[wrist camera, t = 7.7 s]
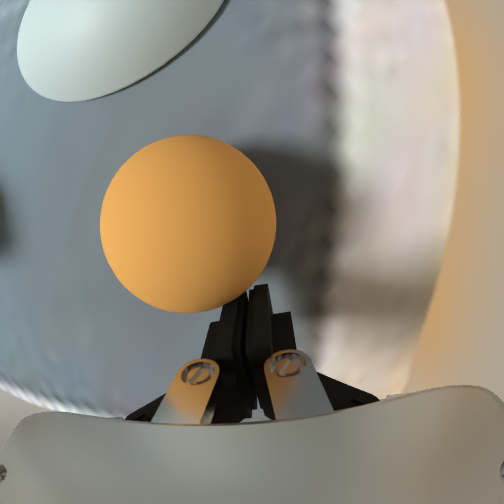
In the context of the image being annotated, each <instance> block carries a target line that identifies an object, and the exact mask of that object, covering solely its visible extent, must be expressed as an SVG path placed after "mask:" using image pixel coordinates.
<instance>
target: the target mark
mask: <svg viewBox="0 0 504 504" xmlns="http://www.w3.org/2000/svg"><path fill="white" fill-rule="evenodd" d="M223 2H224V0H31V1H30V3H29V5H28V7H27V9H26V11H25V14H24V16H23V19H22V22H21V26H20V30H19V34H18V42H17V57H18V64H19V67H20V70H21V73H22V75H23V77H24V79H25V81H26V82H27V84H28V85H29V86H30V87H31V88H32V89H33V90H34V91H36V92H37V93H38V94H40V95H42V96H44V97H46V98H48V99H53V100H57V101H67V102H76V101H86V100H91V99H95V98H99V97H103V96H105V95H108V94H111V93H114V92H117V91H119V90H121V89H123V88H125V87H128V86H130V85H132V84H134V83H135V82H137V81H139V80H141V79H142V78H144V77H146V76H148V75H149V74H151V73H152V72H154V71H155V70H157V69H158V68H160V67H161V66H163V65H164V64H166V63H167V62H168V61H169V60H171V59H172V58H173V57H175V56H176V55H177V54H178V53H180V52H181V51H182V50H183V49H184V48H185V47H186V46H187V45H188V44H190V43H191V42H192V41H193V40H194V39H195V38H196V37H197V36H198V35H199V34H200V32H201V31H202V30H203V29H204V28H205V27H206V26H207V25H208V23H209V22H210V21H211V19H212V18H213V17H214V16H215V14H216V13H217V11H218V10H219V8H220V6H221V5H222V3H223Z"/></svg>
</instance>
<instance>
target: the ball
mask: <svg viewBox="0 0 504 504" xmlns="http://www.w3.org/2000/svg"><path fill="white" fill-rule="evenodd" d="M100 233H101V241H102V245H103V249H104V253H105V255H106V258H107V260H108V263H109V265H110V267H111V268H112V270H113V272H114V273H115V275H116V277H117V278H118V279H119V280H120V282H121V283H122V284H123V285H124V286H125V287H126V288H127V289H128V290H129V291H130V292H131V293H132V294H134V295H135V296H137V297H138V298H139V299H141V300H142V301H144V302H146V303H148V304H150V305H152V306H154V307H157V308H160V309H163V310H166V311H171V312H178V313H196V312H203V311H208V310H212V309H215V308H218V307H220V306H223V305H225V304H227V303H229V302H231V301H232V300H234V299H236V298H237V297H239V296H240V295H241V294H242V293H244V292H245V291H246V290H247V289H248V288H249V287H250V286H251V285H252V284H253V283H254V282H255V281H256V279H257V278H258V277H259V276H260V274H261V273H262V271H263V269H264V268H265V266H266V264H267V262H268V259H269V257H270V255H271V252H272V249H273V245H274V241H275V235H276V212H275V206H274V201H273V198H272V194H271V191H270V189H269V187H268V184H267V182H266V180H265V179H264V177H263V175H262V174H261V172H260V171H259V170H258V168H257V167H256V166H255V165H254V164H253V162H252V161H251V160H250V159H248V158H247V157H246V156H245V155H244V154H243V153H241V152H240V151H239V150H237V149H236V148H234V147H232V146H231V145H228V144H226V143H224V142H222V141H220V140H217V139H214V138H211V137H205V136H199V135H179V136H173V137H168V138H165V139H162V140H159V141H156V142H153V143H151V144H149V145H147V146H146V147H144V148H142V149H141V150H139V151H138V152H136V153H135V154H134V155H133V156H132V157H130V158H129V159H128V160H127V161H126V162H125V163H124V164H123V165H122V167H121V168H120V169H119V170H118V172H117V173H116V175H115V176H114V178H113V179H112V181H111V183H110V185H109V187H108V189H107V191H106V194H105V197H104V200H103V204H102V209H101V215H100Z"/></svg>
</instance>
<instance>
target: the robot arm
mask: <svg viewBox="0 0 504 504" xmlns="http://www.w3.org/2000/svg"><path fill="white" fill-rule="evenodd" d="M257 397H258V400H259V404H260V408H261V409H263V411H264V415H265V416H266V417H268V418H270V419H271V420H269V421H258V422H244V423H239V422H241V421H242V420H243V419H245V418H252V410H255V409H257ZM0 504H504V402H503V401H502V400H501V399H500V398H499V397H498V396H497V395H495V394H494V393H493V392H491V391H490V390H488V389H486V388H483V387H479V386H472V385H457V386H445V387H438V388H431V389H427V390H422V391H417V392H413V393H405V394H395V395H387V397H386V399H378V398H377V397H376V396H374V395H372V394H370V393H367V392H365V391H362V390H359V389H357V388H354V387H352V386H349V385H347V384H344V383H342V382H340V381H337V380H335V379H332V378H330V377H328V376H325V375H323V374H321V373H318V372H316V370H315V368H314V366H313V364H312V361H311V359H310V358H309V356H308V355H307V354H306V353H304V352H302V351H299V350H297V349H296V343H295V337H294V330H293V324H292V318H291V312H284V313H278V314H273V311H272V305H271V300H270V294H269V288H268V284H262V285H256V286H254V289H253V290H249V301H248V297H247V292H246V291H245V292H244V293H242V294H241V295H240V296H239V297H237V298H236V299H234V300H232V301H231V302H229V303H227V304H225V305H223V308H222V312H221V317H220V321H216V322H211V323H210V326H209V330H208V333H207V337H206V341H205V344H204V348H203V352H202V356H201V359H197V360H193V361H190V362H188V363H186V364H185V365H184V366H182V367H181V368H180V370H179V371H178V372H177V374H176V376H175V378H174V380H173V382H172V383H171V385H170V387H169V389H168V391H167V393H165V394H164V395H162V396H160V397H159V398H157V399H155V400H154V401H152V402H150V403H149V404H147V405H145V406H143V407H142V408H140V409H138V410H136V411H135V412H133V413H131V414H130V415H129V416H127V417H126V418H125V420H124V419H123V418H122V417H114V418H105V417H98V416H90V415H83V414H76V413H69V412H42V413H36V414H32V415H30V416H27V417H25V418H24V419H22V420H21V422H19V424H18V425H17V426H16V427H15V428H14V430H13V431H12V432H11V434H10V435H9V437H8V438H7V440H6V441H5V443H4V445H3V446H2V448H1V449H0Z"/></svg>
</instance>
